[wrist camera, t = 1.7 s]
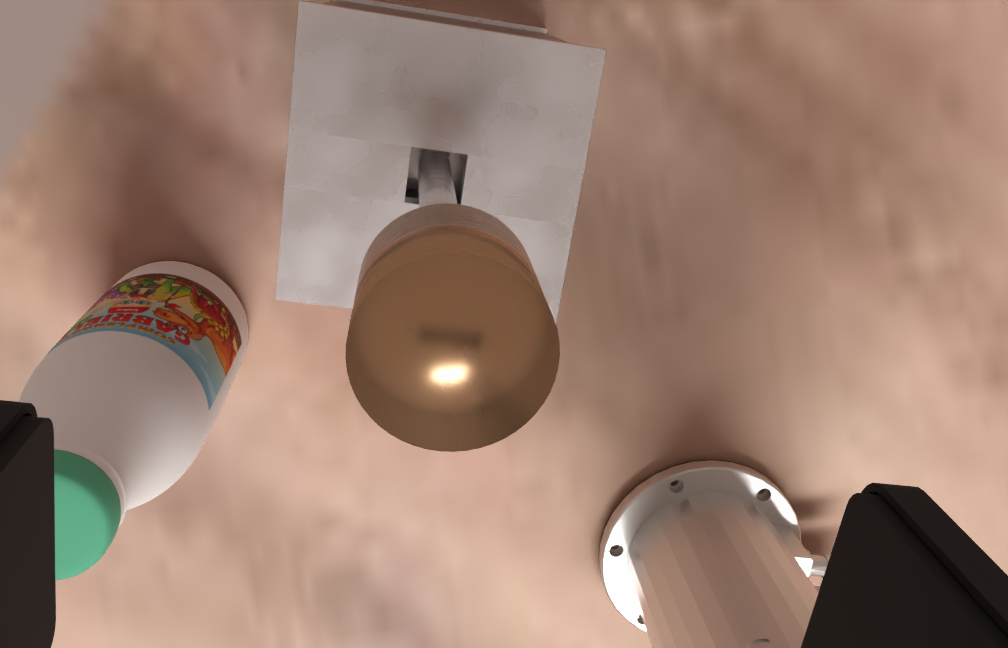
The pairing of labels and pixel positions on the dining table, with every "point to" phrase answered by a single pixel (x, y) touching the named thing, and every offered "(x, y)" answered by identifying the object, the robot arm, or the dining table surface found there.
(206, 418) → the milk bottle
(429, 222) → the plunger
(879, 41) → the dining table surface
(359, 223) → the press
